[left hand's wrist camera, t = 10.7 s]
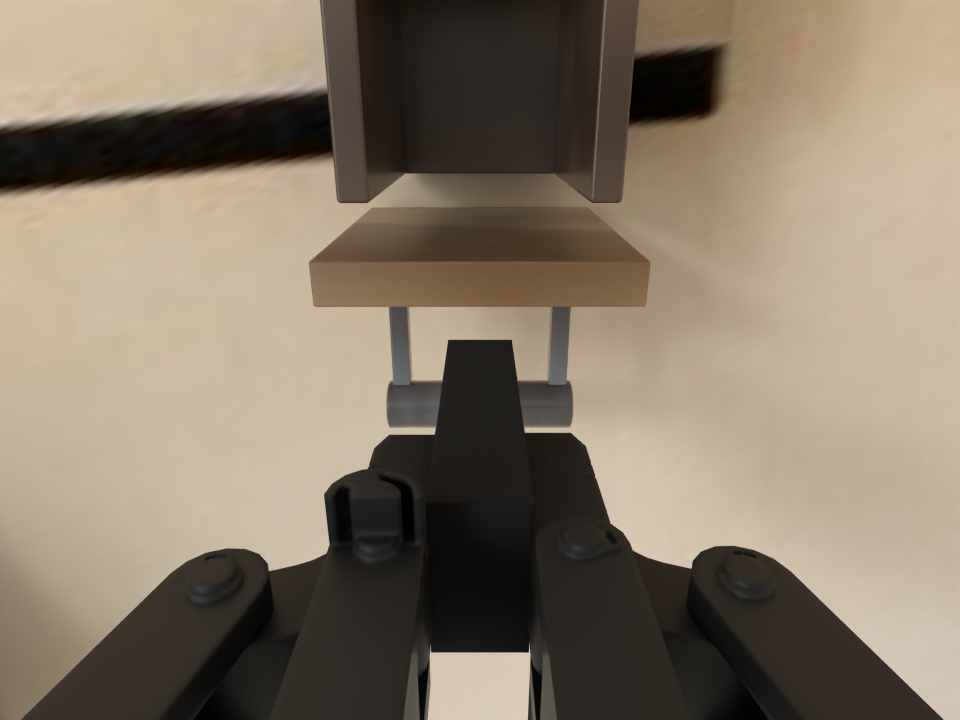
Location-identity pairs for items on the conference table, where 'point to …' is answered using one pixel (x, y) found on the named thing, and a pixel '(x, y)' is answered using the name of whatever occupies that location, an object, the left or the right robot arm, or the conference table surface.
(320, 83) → the conference table surface
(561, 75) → the drawer
